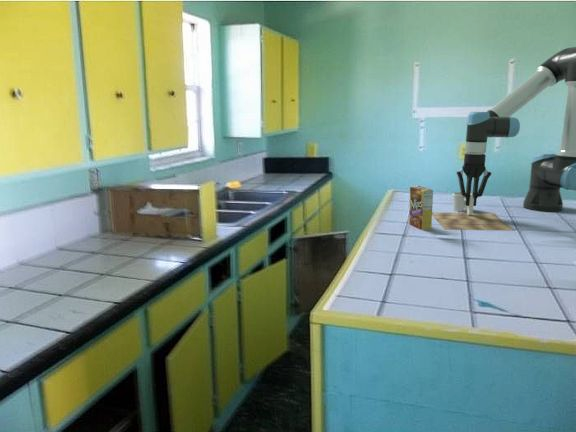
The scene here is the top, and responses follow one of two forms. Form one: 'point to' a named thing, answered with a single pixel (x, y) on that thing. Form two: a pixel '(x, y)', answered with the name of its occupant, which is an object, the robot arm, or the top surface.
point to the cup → (459, 202)
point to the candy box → (420, 207)
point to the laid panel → (474, 224)
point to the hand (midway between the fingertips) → (469, 214)
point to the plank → (466, 216)
